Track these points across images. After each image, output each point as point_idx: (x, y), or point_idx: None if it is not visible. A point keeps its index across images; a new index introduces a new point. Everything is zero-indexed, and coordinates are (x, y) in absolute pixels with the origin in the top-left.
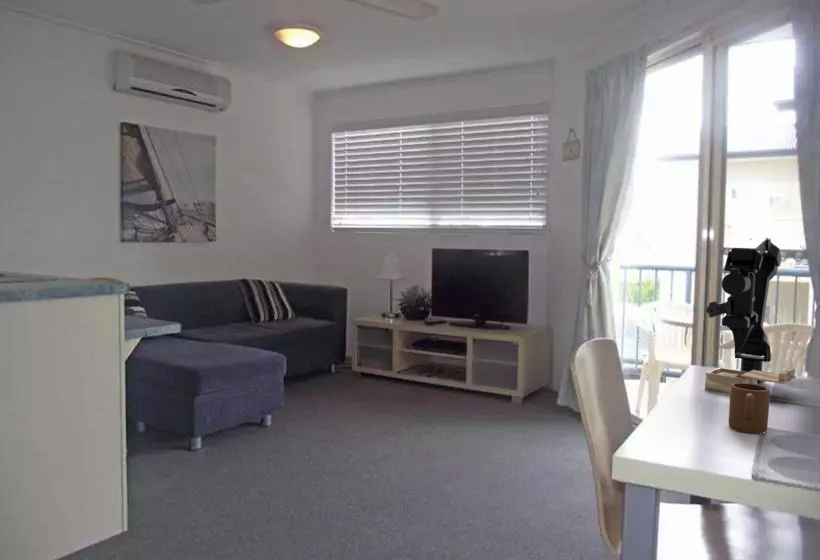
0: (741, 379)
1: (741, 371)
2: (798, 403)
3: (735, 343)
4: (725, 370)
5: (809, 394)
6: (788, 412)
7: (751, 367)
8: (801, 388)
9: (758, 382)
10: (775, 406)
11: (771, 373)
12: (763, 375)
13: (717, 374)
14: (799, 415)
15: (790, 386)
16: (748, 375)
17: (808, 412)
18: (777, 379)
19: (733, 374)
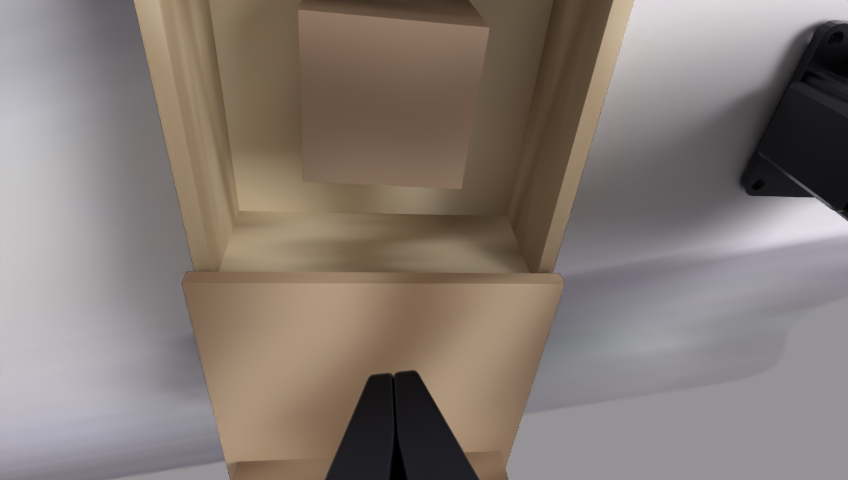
0: (196, 267)
1: (558, 189)
2: None
3: (330, 476)
4: (595, 32)
5: (570, 397)
6: (68, 424)
7: (830, 198)
8: (705, 353)
9: (741, 186)
10: (133, 371)
11: (493, 387)
12: (360, 377)
13: (166, 61)
14: (62, 454)
15: (735, 314)
16: (250, 320)
17: (164, 459)
18: (290, 448)
19: (426, 149)
